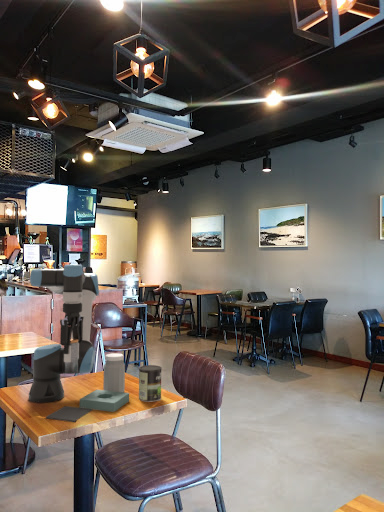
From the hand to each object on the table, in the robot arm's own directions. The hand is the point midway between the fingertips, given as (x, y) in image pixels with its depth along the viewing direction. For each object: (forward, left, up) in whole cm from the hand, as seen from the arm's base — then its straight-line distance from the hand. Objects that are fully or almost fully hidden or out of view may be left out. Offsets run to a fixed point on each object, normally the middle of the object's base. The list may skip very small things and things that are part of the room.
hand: (71, 360), depth 163 cm
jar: (+4, +30, -22) cm, 37 cm away
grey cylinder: (0, 0, -5) cm, 5 cm away
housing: (+8, +14, -22) cm, 27 cm away
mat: (0, 0, -22) cm, 22 cm away
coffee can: (+23, +28, -22) cm, 42 cm away
